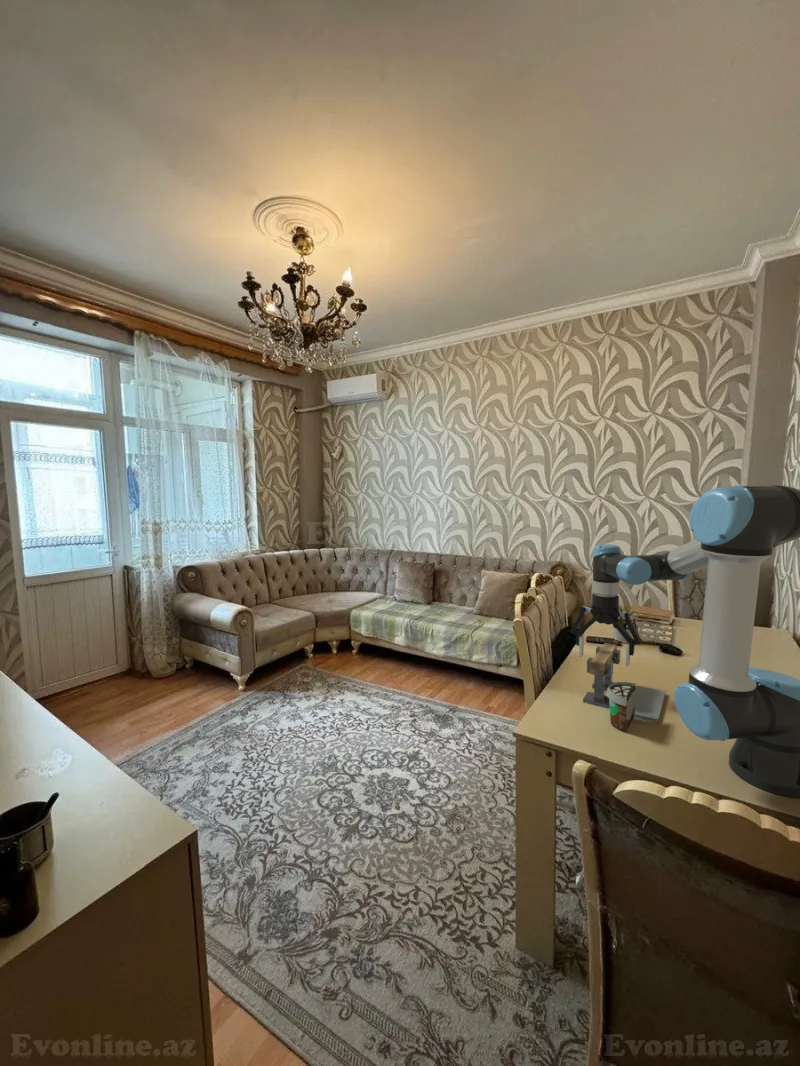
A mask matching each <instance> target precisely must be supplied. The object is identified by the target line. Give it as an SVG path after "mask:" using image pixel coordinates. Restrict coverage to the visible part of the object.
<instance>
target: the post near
mask: <svg viewBox="0 0 800 1066" xmlns="http://www.w3.org/2000/svg"><path fill="white" fill-rule="evenodd" d="M593 658H594V657H590V656H589V657H588V658H587V661H586V673H589V674H590V662H591V660H593ZM605 676H606V677H612V678H613V676H614V664H613V662H611V661H609V663H608V670H607V672H606V673H605V675H604V677H603V676H598V675H594V678H593V679H594V680H593V681H594V682H593V683H594V688H593V691H594V692H591V691H587V692H586V694H585V695H584V697H583V699H582V703H586V704H589V705H594V706H598V707H602V708H606V709H609V710H610V703H609V698H608V697H607V695H605V693H606V691H605Z"/></svg>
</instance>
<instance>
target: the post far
mask: <svg viewBox="0 0 800 1066" xmlns="http://www.w3.org/2000/svg"><path fill="white" fill-rule="evenodd" d="M601 648H602V646H599V645H598V646H596V648H595V655H596V654H597V653H598V652H599V650H600V649H601ZM620 663H621V650H620V649H617V651H616V652H615V659H614V660H613V665H620ZM612 683H616V682H615V681H613V676H612V677H606V676H605V692H607V690H608V687H609V685H610V684H612ZM591 688H592V689H594V682H593V683H592V685H591Z"/></svg>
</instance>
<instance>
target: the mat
mask: <svg viewBox="0 0 800 1066" xmlns="http://www.w3.org/2000/svg"><path fill="white" fill-rule="evenodd" d="M666 693H667V692H666V691H665V690H660V689H656V688H652V687H646V686H641V685H637V684H636V695H635V716H634V718H636V719H640V720H643V721H644V720H645V721H649V722H653V723H656V724H659V721H660V716H661V713H662V708H663V705H664V701H665V697H666Z"/></svg>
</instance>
